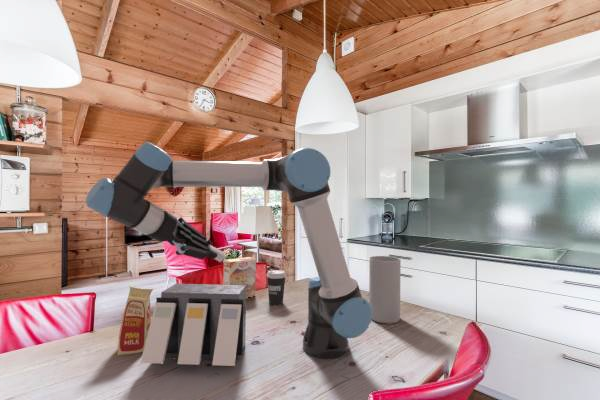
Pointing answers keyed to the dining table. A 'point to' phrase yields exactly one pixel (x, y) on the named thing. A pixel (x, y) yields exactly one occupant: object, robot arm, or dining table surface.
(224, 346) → the cream flat slab
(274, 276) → the coffee cup
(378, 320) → the cylinder vase
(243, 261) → the coffeecake box
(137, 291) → the milk carton
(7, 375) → the dining table surface
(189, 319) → the cream flat slab
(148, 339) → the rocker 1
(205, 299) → the card holder crate
